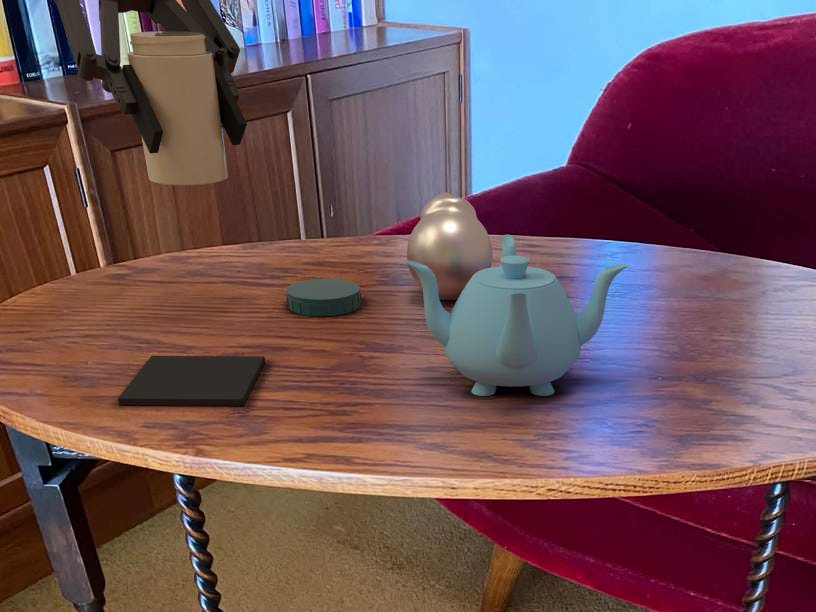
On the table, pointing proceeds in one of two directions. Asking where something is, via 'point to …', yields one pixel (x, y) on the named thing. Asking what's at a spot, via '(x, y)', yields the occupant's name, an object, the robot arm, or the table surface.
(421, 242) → the shiny gold rounded piece
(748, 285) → the table surface
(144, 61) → the jar
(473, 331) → the teapot
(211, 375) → the plate
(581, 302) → the table surface
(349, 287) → the jar lid
